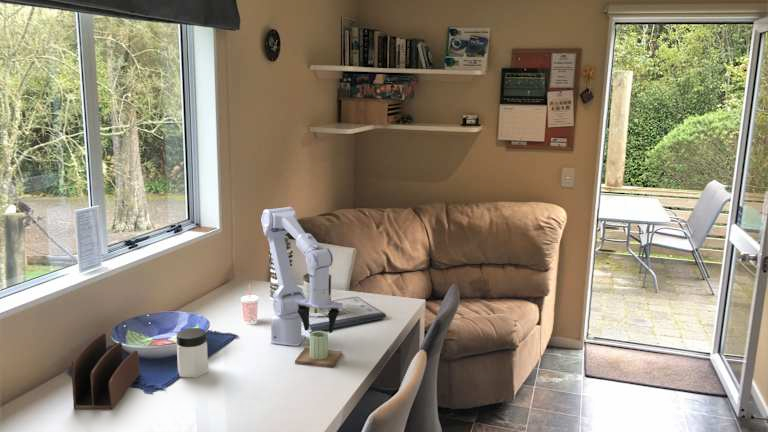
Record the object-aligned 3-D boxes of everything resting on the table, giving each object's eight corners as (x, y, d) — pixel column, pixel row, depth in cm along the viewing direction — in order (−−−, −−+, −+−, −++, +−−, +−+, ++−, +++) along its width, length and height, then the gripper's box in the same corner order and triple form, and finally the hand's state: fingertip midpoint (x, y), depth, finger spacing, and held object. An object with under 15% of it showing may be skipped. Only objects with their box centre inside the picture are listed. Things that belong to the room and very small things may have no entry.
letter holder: (73, 410, 158) (68, 358, 155) (105, 374, 178) (102, 328, 175) (112, 410, 158) (109, 359, 156) (140, 374, 178) (137, 328, 175)
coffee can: (315, 305, 236) (315, 270, 233) (336, 311, 231) (337, 275, 228) (297, 313, 228) (297, 276, 225) (319, 319, 222) (319, 282, 220)
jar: (210, 375, 178) (208, 336, 176) (180, 380, 175) (178, 341, 172) (204, 363, 186) (203, 325, 183) (176, 367, 182) (174, 329, 180)
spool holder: (295, 363, 187) (294, 346, 186) (305, 350, 197) (305, 333, 195) (333, 367, 185) (333, 350, 184) (341, 354, 194) (342, 337, 193)
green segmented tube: (307, 358, 188) (307, 336, 187) (313, 351, 194) (313, 330, 192) (324, 360, 187) (325, 338, 186) (329, 353, 193) (329, 331, 191)
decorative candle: (291, 302, 239) (290, 240, 234) (267, 302, 239) (266, 239, 234) (294, 295, 248) (294, 234, 242) (271, 294, 248) (270, 233, 243)
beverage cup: (237, 323, 217) (236, 285, 214) (248, 317, 222) (247, 280, 220) (252, 326, 215) (251, 288, 212) (262, 320, 220) (261, 283, 217)
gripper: (291, 290, 183) (291, 333, 186) (339, 294, 181) (338, 337, 184) (299, 282, 190) (299, 324, 193) (345, 286, 188) (344, 329, 190)
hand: (318, 330), depth 189 cm, fingers open, 7 cm apart
